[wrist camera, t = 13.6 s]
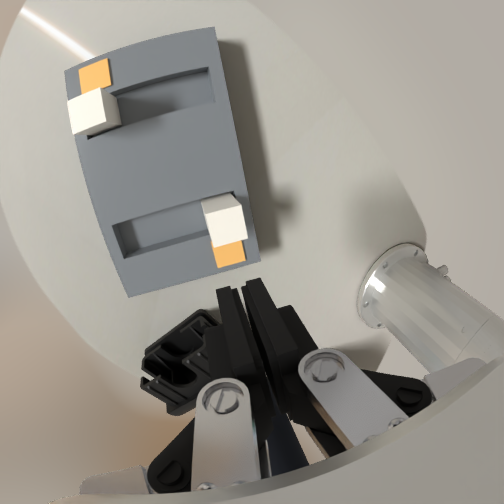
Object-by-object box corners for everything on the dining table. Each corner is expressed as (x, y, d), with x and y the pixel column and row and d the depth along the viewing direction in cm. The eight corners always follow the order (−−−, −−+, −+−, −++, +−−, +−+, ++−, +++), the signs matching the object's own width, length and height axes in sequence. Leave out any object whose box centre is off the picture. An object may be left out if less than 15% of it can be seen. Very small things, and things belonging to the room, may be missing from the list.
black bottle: (274, 398, 37) (354, 570, 10) (232, 408, 36) (296, 591, 9) (273, 371, 34) (371, 572, 7) (226, 382, 33) (300, 598, 6)
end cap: (182, 381, 31) (187, 424, 25) (140, 352, 28) (136, 397, 22) (244, 340, 31) (260, 383, 25) (204, 303, 28) (213, 347, 22)
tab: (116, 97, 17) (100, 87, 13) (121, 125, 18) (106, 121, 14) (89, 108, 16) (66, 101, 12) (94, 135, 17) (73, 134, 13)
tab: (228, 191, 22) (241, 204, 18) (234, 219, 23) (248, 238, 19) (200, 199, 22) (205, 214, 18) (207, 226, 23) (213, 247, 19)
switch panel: (210, 39, 18) (214, 25, 15) (252, 248, 26) (261, 262, 24) (76, 77, 16) (63, 70, 13) (132, 281, 25) (128, 298, 22)
